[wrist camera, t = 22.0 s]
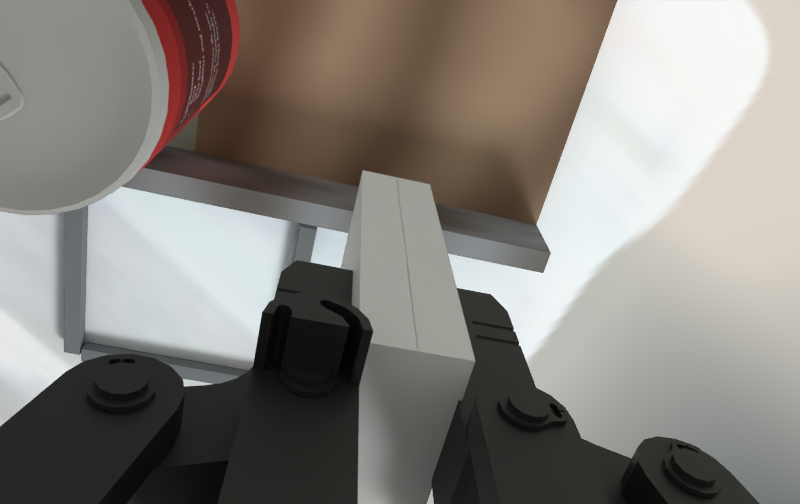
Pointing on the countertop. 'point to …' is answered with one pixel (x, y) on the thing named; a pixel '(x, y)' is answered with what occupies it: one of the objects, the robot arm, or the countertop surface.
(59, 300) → the countertop surface
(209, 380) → the frame
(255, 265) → the countertop surface
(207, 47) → the canned food
